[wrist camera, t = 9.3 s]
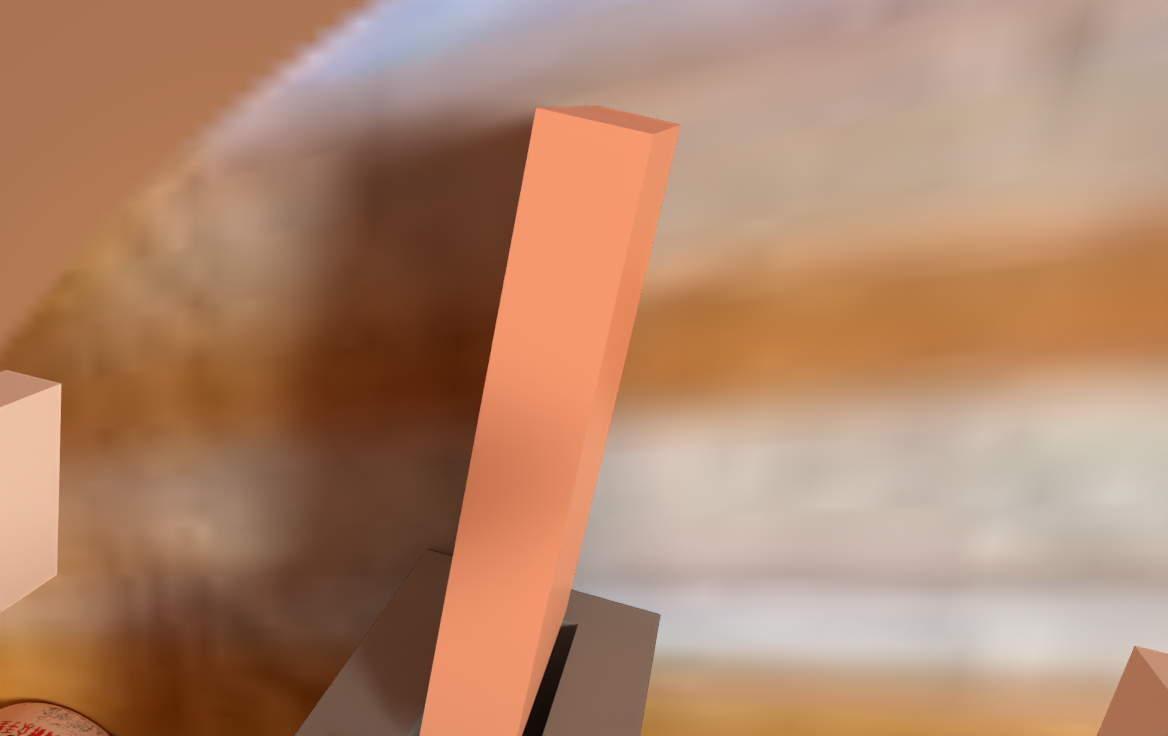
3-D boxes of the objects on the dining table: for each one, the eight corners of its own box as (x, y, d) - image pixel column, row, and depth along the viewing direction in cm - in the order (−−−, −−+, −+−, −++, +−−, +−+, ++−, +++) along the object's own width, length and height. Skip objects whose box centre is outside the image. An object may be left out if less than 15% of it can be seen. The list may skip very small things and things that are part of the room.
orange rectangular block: (565, 610, 31) (508, 774, 24) (496, 591, 32) (417, 746, 24) (680, 124, 26) (653, 134, 19) (596, 105, 26) (536, 107, 19)
